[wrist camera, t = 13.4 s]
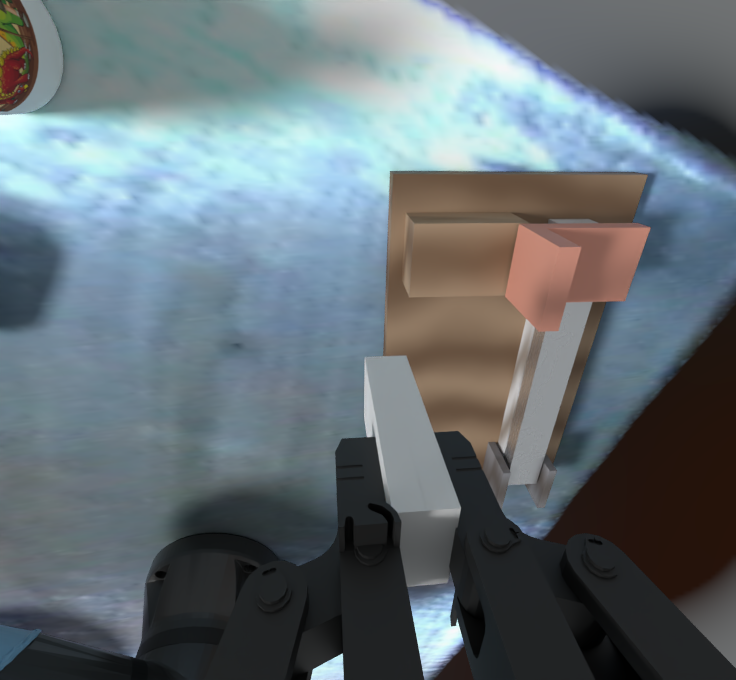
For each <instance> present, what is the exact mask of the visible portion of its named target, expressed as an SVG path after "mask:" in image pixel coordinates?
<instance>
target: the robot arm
mask: <svg viewBox="0 0 736 680" xmlns="http://www.w3.org/2000/svg"><path fill="white" fill-rule="evenodd" d="M364 419H365V426H366V434H367V437H364V438H347V439H342V440H341V442H340V444H339V446H338V448H337V450H336V452H335V455H336V483H337V509H338V533H337V536H336V539H335V541H334V543H333V544H332V546H331V547H330V549H329V550H327V551H326V552H325V553H324V554H323V555H322V556H320V557H318V558H316V559H315V560H312V561H310V562H308V563H305V564H303V565H301V566H298V567H297V566H296V565H295V564H292V563H290V562H287V561H279V560H278V558H277V557H276V556H275V555H274V553H272V552H271V551H270V550H269V549H268V548H266V547H265V546H263V545H261V544H259V543H257V542H255V541H253V540H250V539H247V538H243V537H239V536H235V535H228V534H201V535H195V536H190V537H186V538H183V539H180V540H177V541H175V542H173V543H171V544H169V545H168V546H166V547H165V548H163V549H162V550H161V551H160V552H159V553H158V554H157V556H156V557H155V559H154V561H153V563H152V566H151V568H150V571H149V574H148V576H147V579H146V583H145V592H144V609H143V626H142V640H141V644H140V647H139V650H138V652H137V655H136V658H133V657H130V656H126V655H122V654H117V653H114V652H110V651H106V650H102V649H99V648H95V647H91V646H87V645H84V644H80V643H76V642H72V641H69V640H65V639H61V638H57V637H54V636H50V635H46V634H42V633H41V632H42V630H40V629H35V630H32V631H30V630H25V629H20V628H15V627H10V626H5V625H0V680H310V679H311V675H312V670H313V669H314V668H316V667H318V666H319V665H321V664H323V663H325V662H327V661H329V660H331V659H333V658H334V657H336V656H338V655H340V654H342V653H343V667H344V680H424V676H423V671H422V665H421V660H420V654H419V649H418V644H417V638H416V633H415V627H414V622H413V616H412V611H411V606H410V600H409V595H408V589H407V587H411V586H421V585H432V584H443V583H448V579H449V574H450V572H451V575H452V579H453V582H454V586H455V594H454V599H453V605H452V610H451V615H450V618H451V626H456V622H457V619H458V623H459V626H460V630H461V634H462V638H463V641H464V645H465V649H466V652H467V656H468V660H469V663H470V667H471V671H472V675H473V678H474V680H736V668H735V667H734V666H733V665H732V664H731V663H730V662H729V661H728V660H727V659H726V658H725V657H724V656H723V655H722V654H721V653H720V652H719V651H718V650H717V649H716V648H715V647H714V645H713V644H712V643H711V642H710V641H709V640H708V639H707V638H706V637H705V636H704V635H703V634H702V633H701V632H700V631H699V630H698V629H697V628H696V627H695V626H694V625H693V624H692V623H691V622H690V621H689V620H688V619H687V618H686V616H685V615H684V614H683V613H682V612H681V611H680V610H679V609H678V608H677V607H676V606H675V605H674V604H673V603H672V602H671V601H670V600H669V599H668V598H667V597H666V596H665V595H664V594H663V593H662V592H661V591H660V590H659V589H658V587H656V585H655V584H654V583H653V582H652V581H651V580H650V579H649V578H648V577H647V576H646V575H645V574H644V573H643V572H642V571H641V570H640V569H639V568H638V567H637V566H636V565H635V564H634V563H633V562H632V561H631V560H630V558H629V557H628V556H627V555H625V553H624V552H623V551H621V550H620V549H619V548H618V547H617V546H615V545H614V544H613V543H612V542H610V541H608V540H606V539H604V538H602V537H600V536H596V535H592V534H587V533H585V534H578V535H575V536H573V537H572V538H570V539H569V540H568V543H567V545H562V544H558V543H553V542H549V541H544V540H540V539H537V538H533V537H530V536H528V535H526V534H524V533H522V531H521V530H520V528H519V527H518V526H517V525H516V524H514V523H513V522H512V521H510V520H509V519H507V518H506V517H505V515H504V514H503V512H502V510H501V508H500V506H499V503H498V501H497V499H496V497H495V495H494V493H493V490H492V488H491V486H490V484H489V482H488V480H487V477H486V475H485V473H484V471H483V470H482V467H481V464H480V462H479V460H478V459H477V456H476V454H475V451H474V449H473V447H472V445H471V443H470V442H469V441H468V440H467V439H466V438H465V437H464V436H463V435H462V434H461V433H460V432H459V431H448V432H434V431H433V429H432V426H431V423H430V420H429V418H428V415H427V412H426V409H425V406H424V404H423V401H422V398H421V395H420V392H419V390H418V387H417V384H416V381H415V379H414V376H413V373H412V370H411V367H410V365H409V362H408V359H407V356H406V355H405V356H380V357H365V389H364Z"/></svg>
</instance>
